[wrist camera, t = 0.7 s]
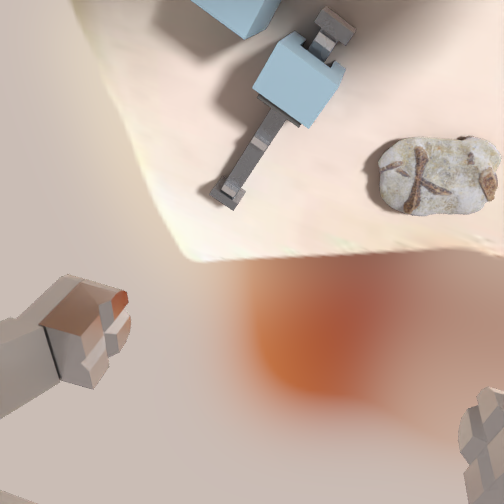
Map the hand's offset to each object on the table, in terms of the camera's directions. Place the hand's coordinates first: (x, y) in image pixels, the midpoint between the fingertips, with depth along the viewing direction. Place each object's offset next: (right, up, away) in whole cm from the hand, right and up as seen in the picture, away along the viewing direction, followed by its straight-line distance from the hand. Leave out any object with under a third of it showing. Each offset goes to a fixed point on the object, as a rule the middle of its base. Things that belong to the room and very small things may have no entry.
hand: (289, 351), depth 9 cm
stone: (+20, +11, +36) cm, 42 cm away
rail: (+2, +18, +36) cm, 40 cm away
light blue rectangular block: (+5, +21, +33) cm, 39 cm away
